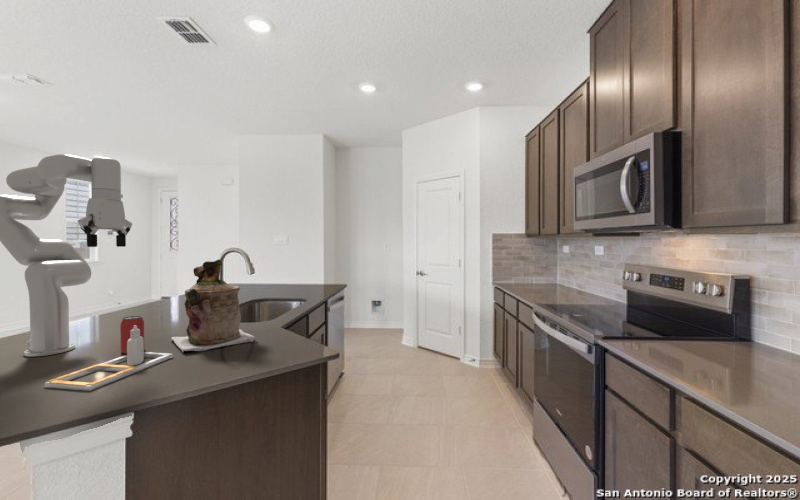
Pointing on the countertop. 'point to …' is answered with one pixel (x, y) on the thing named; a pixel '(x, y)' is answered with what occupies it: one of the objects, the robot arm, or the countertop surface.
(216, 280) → the cookie jar
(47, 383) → the rail
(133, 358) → the eye dropper bottle
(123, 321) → the beer can
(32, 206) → the robot arm
